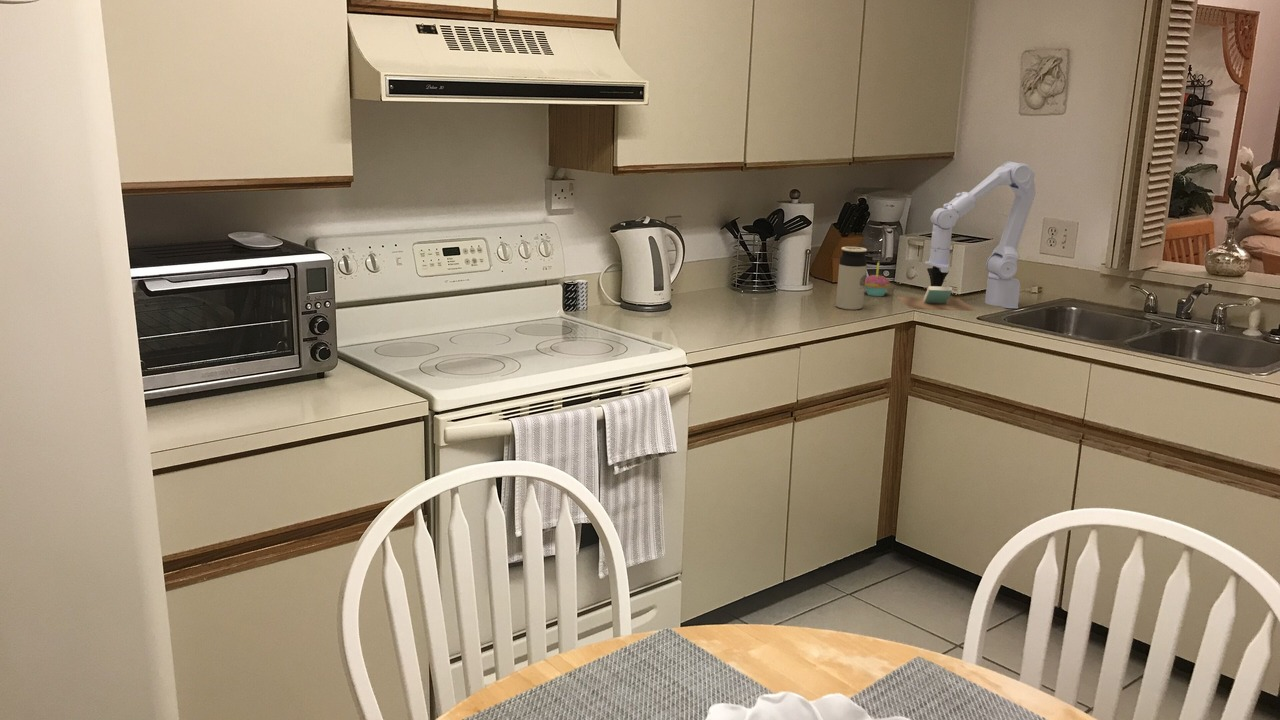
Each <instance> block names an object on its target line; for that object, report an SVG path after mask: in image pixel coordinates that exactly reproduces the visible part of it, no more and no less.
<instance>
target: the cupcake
mask: <svg viewBox="0 0 1280 720" xmlns="http://www.w3.org/2000/svg"><path fill="white" fill-rule="evenodd" d="M875 271H876V272H875V273H876V274H871V275H867V277H866V276H865V287H864V288H865V290H866V294H867V295H868V296H872V297H883V296H885V294H886V291H887V290H888V288H889V287H891V281H890V280H889V279H888V278H887V277H886V276H883V275H880V274H879V273H880V261H879V260H878V262H877V263H876V270H875Z"/></svg>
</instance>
